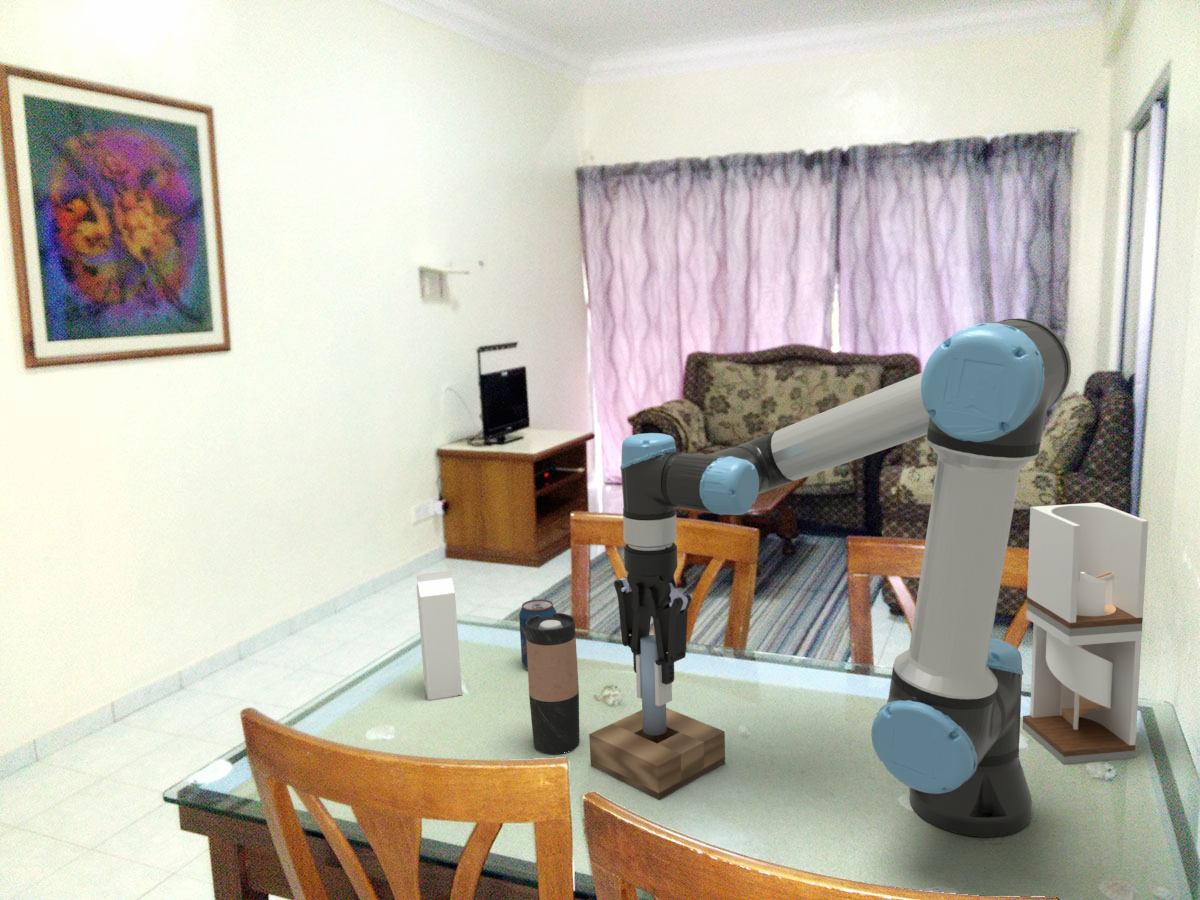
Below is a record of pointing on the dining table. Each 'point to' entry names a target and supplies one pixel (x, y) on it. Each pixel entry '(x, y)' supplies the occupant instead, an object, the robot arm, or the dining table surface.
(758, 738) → the dining table surface
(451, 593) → the milk
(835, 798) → the dining table surface
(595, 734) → the bore block
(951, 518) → the robot arm
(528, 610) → the soda can
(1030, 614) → the spiral staircase model
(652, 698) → the pin
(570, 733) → the travel mug
